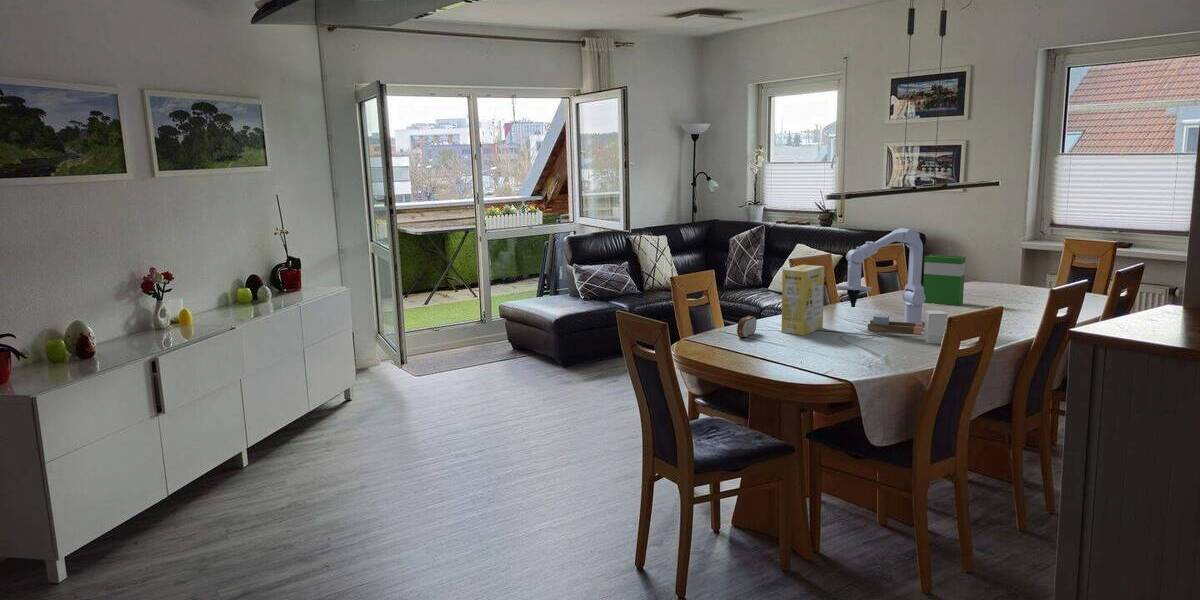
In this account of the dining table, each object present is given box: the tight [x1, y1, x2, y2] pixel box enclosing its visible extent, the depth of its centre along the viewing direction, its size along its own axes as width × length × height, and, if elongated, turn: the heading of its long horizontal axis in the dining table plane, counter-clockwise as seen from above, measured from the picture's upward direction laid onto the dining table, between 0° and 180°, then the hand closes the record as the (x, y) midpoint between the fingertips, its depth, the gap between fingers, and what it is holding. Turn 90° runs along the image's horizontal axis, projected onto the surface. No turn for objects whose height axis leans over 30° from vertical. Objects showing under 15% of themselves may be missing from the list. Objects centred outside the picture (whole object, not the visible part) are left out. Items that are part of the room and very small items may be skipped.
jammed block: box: [872, 313, 890, 325], centre depth 358 cm, size 6×6×6 cm
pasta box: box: [781, 264, 825, 336], centre depth 359 cm, size 18×10×28 cm, turn 138°
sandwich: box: [736, 315, 758, 338], centre depth 352 cm, size 15×3×8 cm, turn 145°
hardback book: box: [922, 254, 966, 307], centre depth 411 cm, size 18×7×24 cm, turn 52°
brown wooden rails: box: [867, 319, 924, 335], centre depth 356 cm, size 9×22×3 cm, turn 65°
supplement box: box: [923, 309, 948, 345], centre depth 333 cm, size 7×7×13 cm
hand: (853, 306), depth 362 cm, fingers closed
